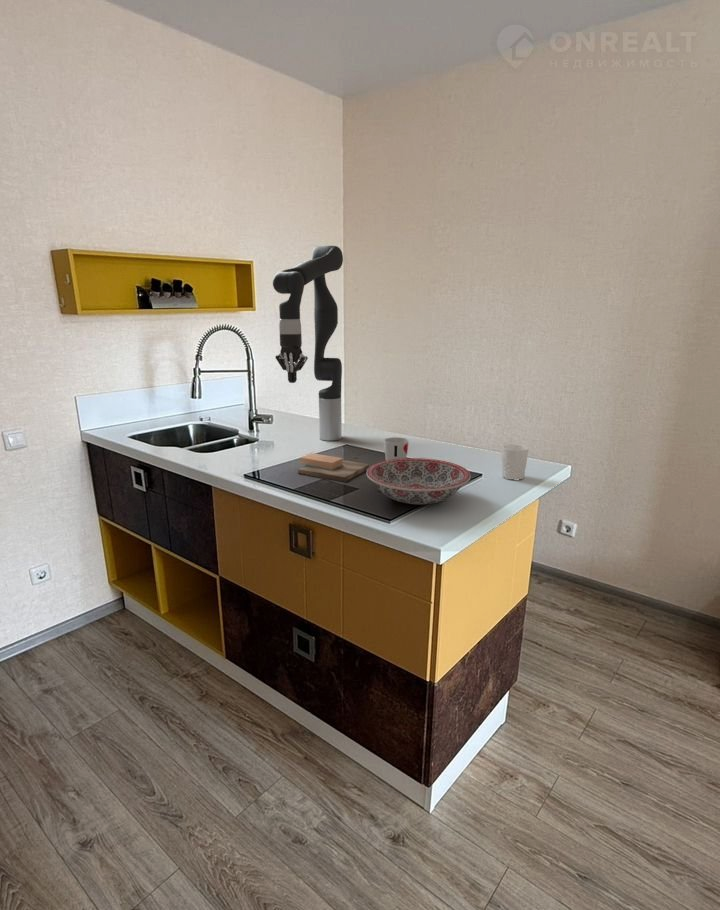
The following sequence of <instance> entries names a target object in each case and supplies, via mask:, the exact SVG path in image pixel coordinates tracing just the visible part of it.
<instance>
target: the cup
mask: <svg viewBox="0 0 720 910" xmlns="http://www.w3.org/2000/svg"><path fill="white" fill-rule="evenodd" d="M383 445H384V455H385V461H387V460H393V459H403V458H408V452H409V451H408V450H409V439H408V438H406V437H405V438H404V437H398V436H397V437H396V436H395V437H394V436H393V437H387V438H384V439H383Z"/></svg>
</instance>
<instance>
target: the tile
mask: <svg viewBox="0 0 720 910" xmlns="http://www.w3.org/2000/svg"><path fill="white" fill-rule="evenodd" d="M299 460H300V461H299V463H300V465H303V466H306V465H308V466H313V467H319V468H324V469H330V470H333V469H335V468H338V467H340V466H342V465H343V460H344V458H343V457H338V456H332V455H331V456H330V455H325V454H320V453H313V452H310V453H308V454H305V455H302V456H300V457H299Z"/></svg>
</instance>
